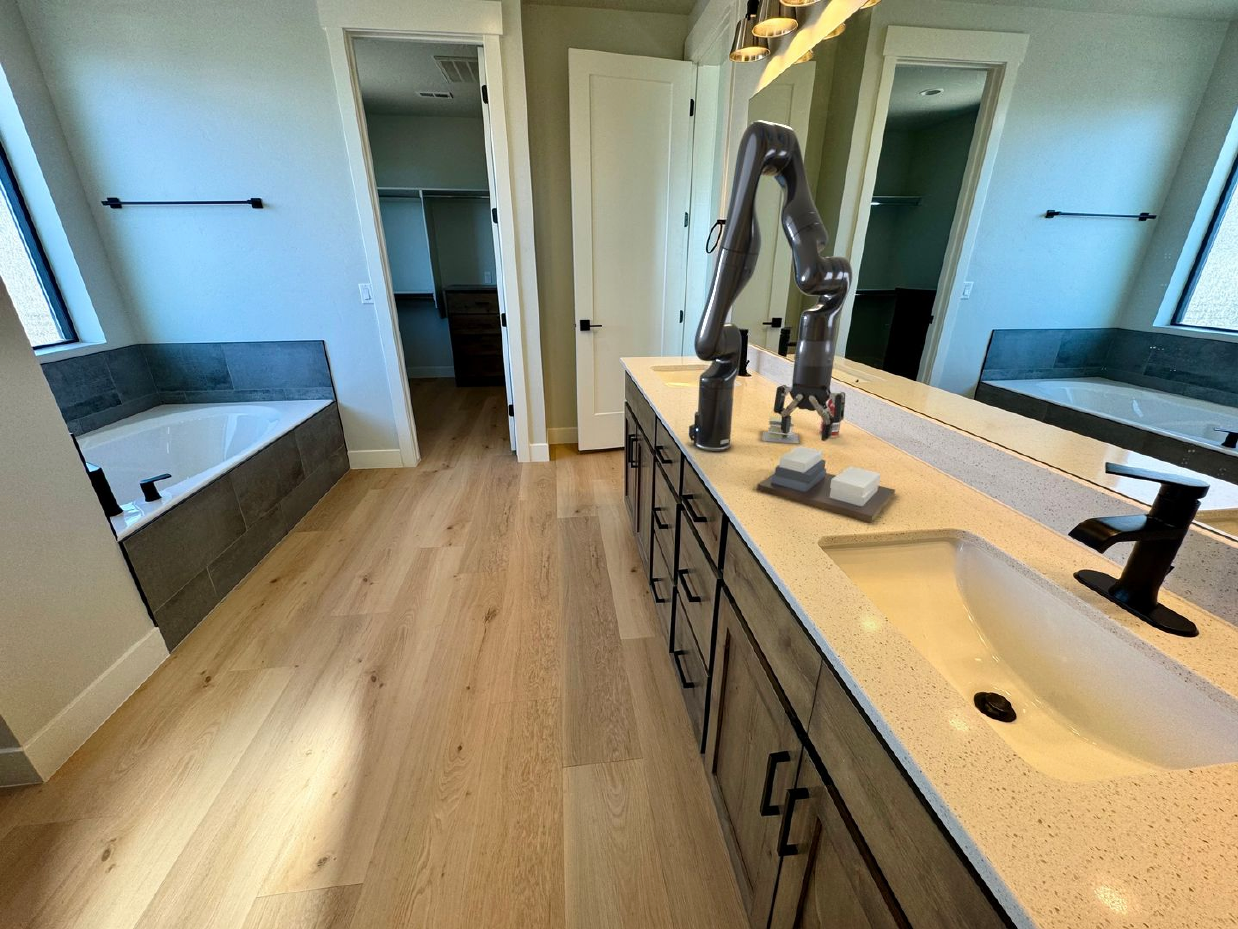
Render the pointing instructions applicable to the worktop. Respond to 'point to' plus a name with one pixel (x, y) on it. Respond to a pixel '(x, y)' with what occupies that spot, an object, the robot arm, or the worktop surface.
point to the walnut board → (821, 498)
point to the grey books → (799, 477)
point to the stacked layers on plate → (779, 432)
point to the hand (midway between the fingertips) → (804, 436)
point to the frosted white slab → (800, 459)
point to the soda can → (835, 425)
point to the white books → (854, 485)
